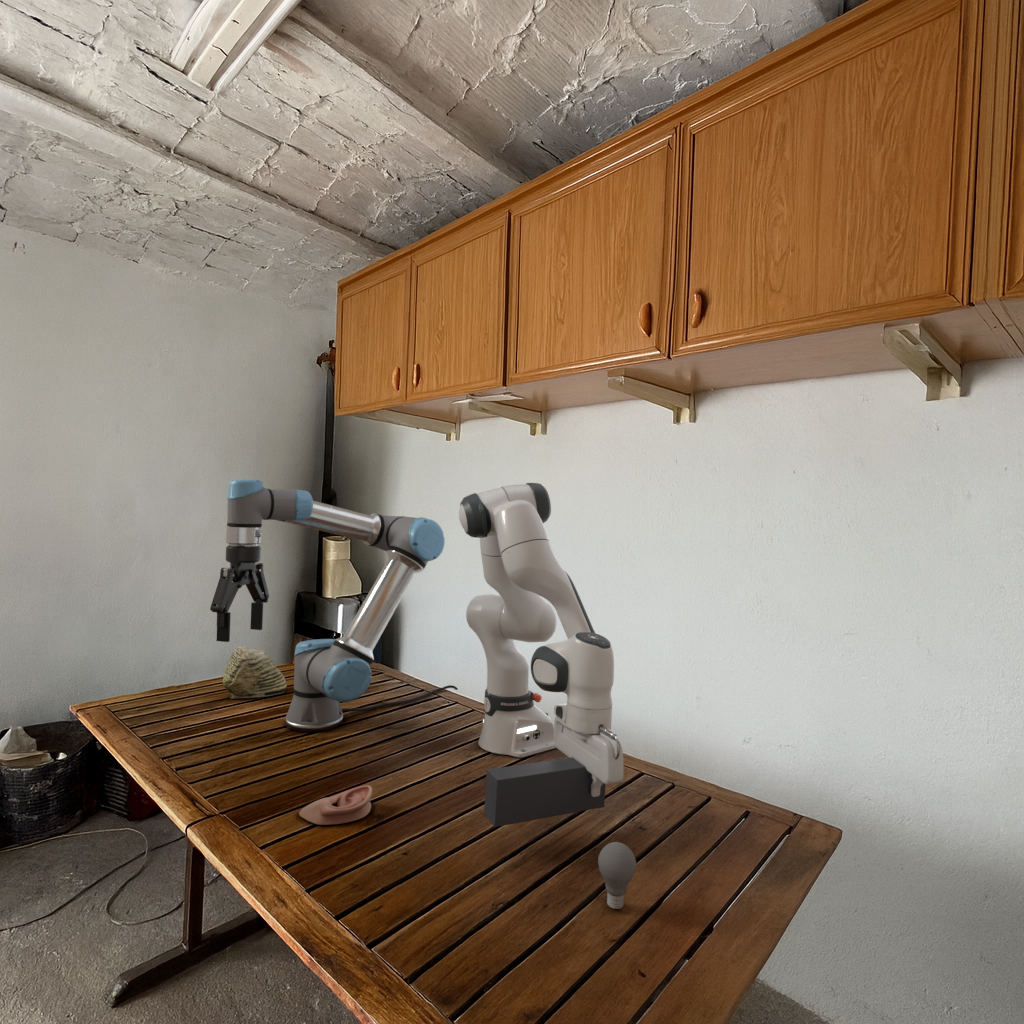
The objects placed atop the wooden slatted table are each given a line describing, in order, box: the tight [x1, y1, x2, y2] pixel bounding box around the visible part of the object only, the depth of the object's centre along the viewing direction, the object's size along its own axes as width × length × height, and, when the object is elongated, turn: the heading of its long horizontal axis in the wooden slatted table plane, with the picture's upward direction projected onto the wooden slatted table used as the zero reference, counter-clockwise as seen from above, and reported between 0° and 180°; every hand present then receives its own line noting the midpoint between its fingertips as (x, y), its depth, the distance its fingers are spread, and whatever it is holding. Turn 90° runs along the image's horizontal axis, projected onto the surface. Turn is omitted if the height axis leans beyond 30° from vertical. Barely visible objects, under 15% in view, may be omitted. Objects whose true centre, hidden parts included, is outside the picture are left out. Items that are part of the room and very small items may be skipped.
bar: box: [483, 757, 607, 828], centre depth 120 cm, size 23×5×8 cm, turn 115°
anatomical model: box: [298, 784, 373, 826], centre depth 127 cm, size 13×4×12 cm
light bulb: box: [597, 841, 637, 910], centre depth 101 cm, size 6×6×10 cm
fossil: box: [222, 646, 288, 699], centre depth 198 cm, size 9×18×15 cm, turn 132°
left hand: (240, 635), depth 149 cm, fingers open, 13 cm apart
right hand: (585, 788), depth 124 cm, fingers closed on bar, 5 cm apart
